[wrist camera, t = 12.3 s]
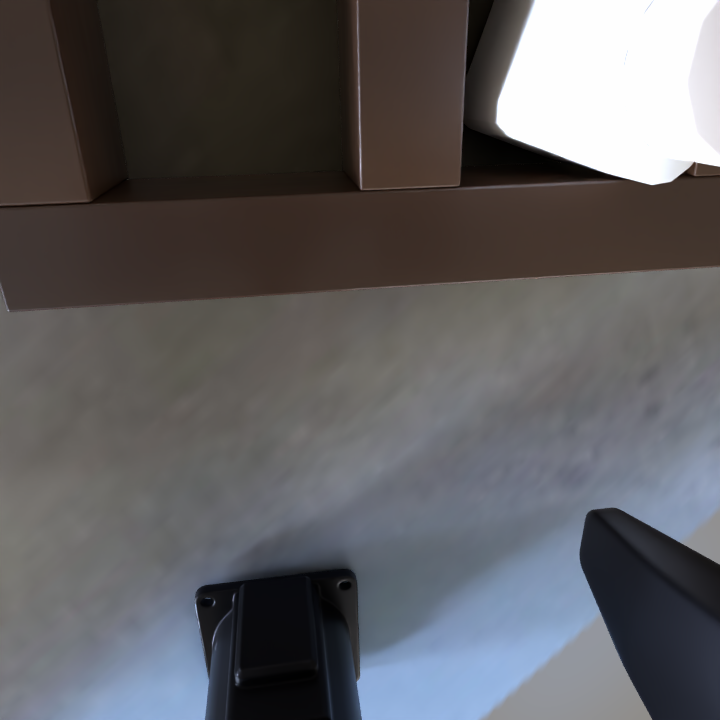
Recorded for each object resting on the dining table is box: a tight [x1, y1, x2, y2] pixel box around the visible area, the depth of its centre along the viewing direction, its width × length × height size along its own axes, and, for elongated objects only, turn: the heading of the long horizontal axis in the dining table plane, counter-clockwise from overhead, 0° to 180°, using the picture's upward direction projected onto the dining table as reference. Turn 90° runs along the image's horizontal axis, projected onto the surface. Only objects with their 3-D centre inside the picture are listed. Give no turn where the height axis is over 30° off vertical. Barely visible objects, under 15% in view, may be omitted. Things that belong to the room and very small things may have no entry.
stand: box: [0, 0, 720, 312], centre depth 15 cm, size 11×20×4 cm, turn 91°
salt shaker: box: [463, 0, 720, 185], centre depth 13 cm, size 4×4×10 cm
